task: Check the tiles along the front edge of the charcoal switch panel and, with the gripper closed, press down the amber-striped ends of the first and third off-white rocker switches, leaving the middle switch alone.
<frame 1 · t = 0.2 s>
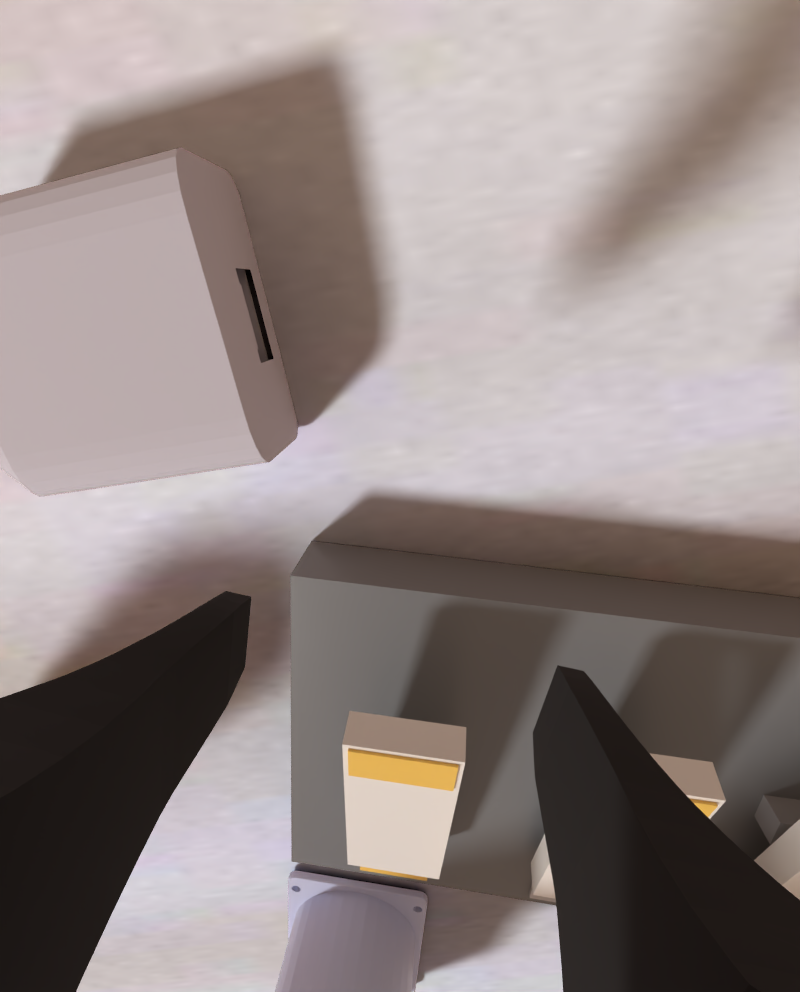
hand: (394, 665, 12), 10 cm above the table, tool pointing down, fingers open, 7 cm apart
switch panel: (582, 726, 25), on the table
rocker 3: (399, 806, 20), point 5 cm above the table, hinge at -15.0°
charger: (100, 349, 21), on the table
rocker 2: (610, 838, 20), point 5 cm above the table, hinge at -15.0°
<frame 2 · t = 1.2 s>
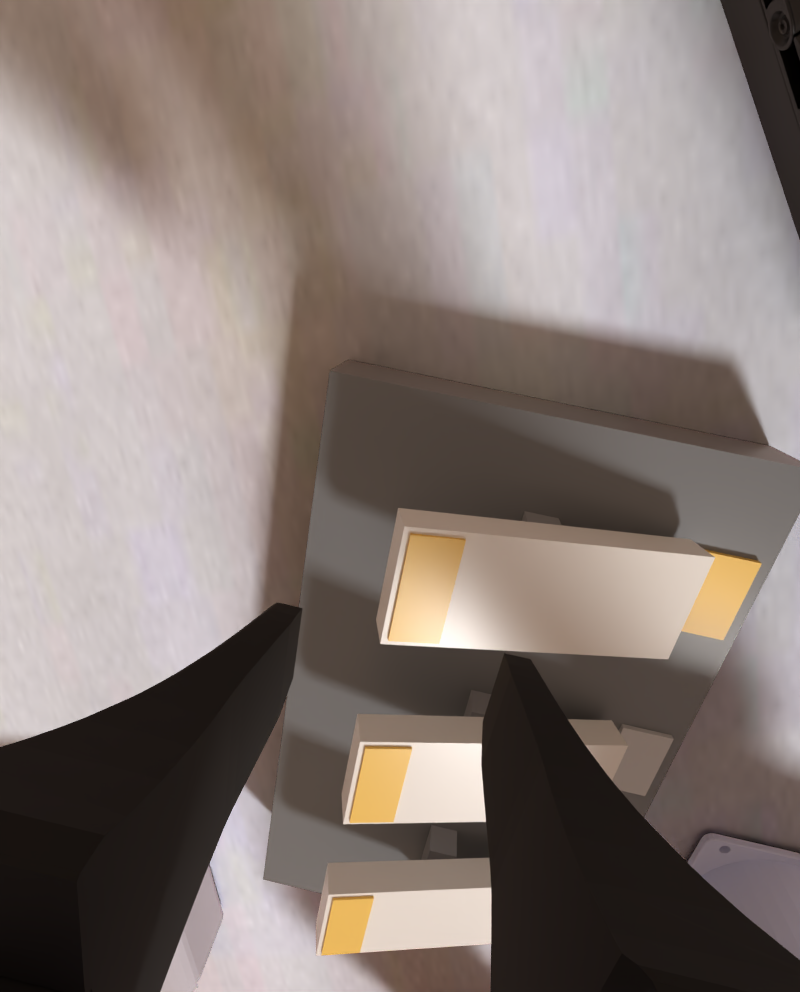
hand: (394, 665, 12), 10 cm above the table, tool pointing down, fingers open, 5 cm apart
switch panel: (475, 674, 25), on the table
rocker 1: (543, 589, 17), point 5 cm above the table, hinge at -15.0°
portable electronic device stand: (770, 27, 16), on the table
rocker 3: (438, 905, 23), point 5 cm above the table, hinge at -15.0°
charger: (157, 882, 34), on the table
rocker 2: (483, 771, 20), point 5 cm above the table, hinge at -15.0°
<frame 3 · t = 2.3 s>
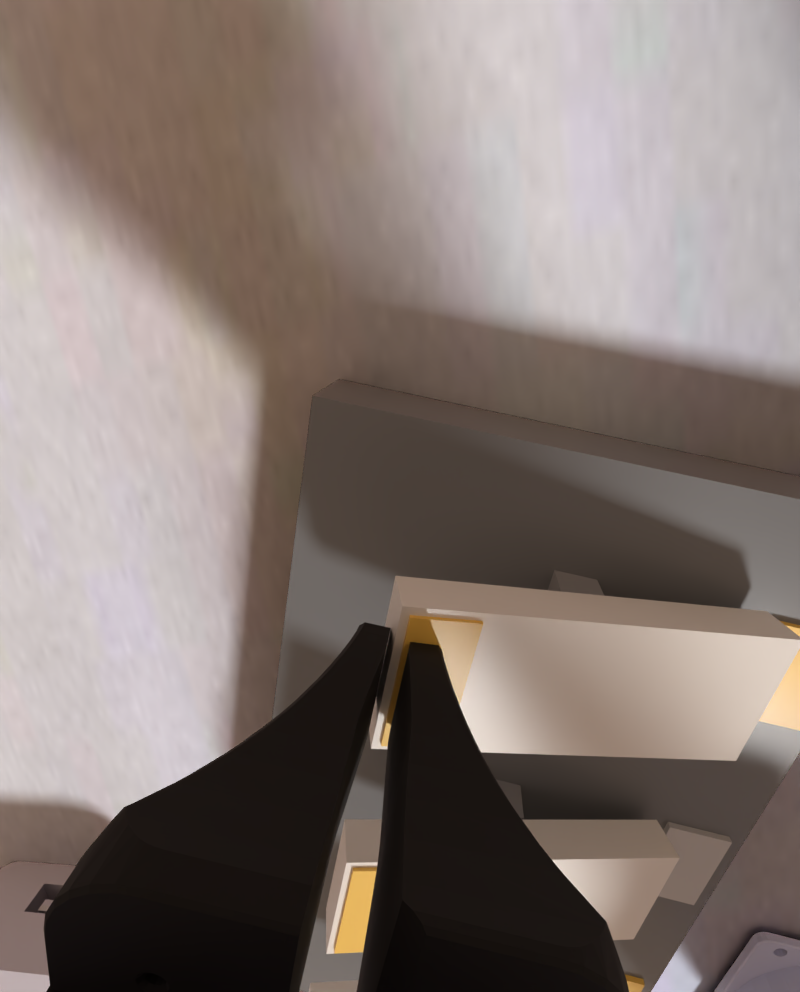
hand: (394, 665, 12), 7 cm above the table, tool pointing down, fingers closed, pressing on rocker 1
switch panel: (488, 745, 21), on the table
rocker 1: (580, 677, 13), point 5 cm above the table, hinge at -14.5°, touching gripper
charger: (127, 951, 30), on the table
rocker 2: (499, 885, 16), point 5 cm above the table, hinge at -15.0°
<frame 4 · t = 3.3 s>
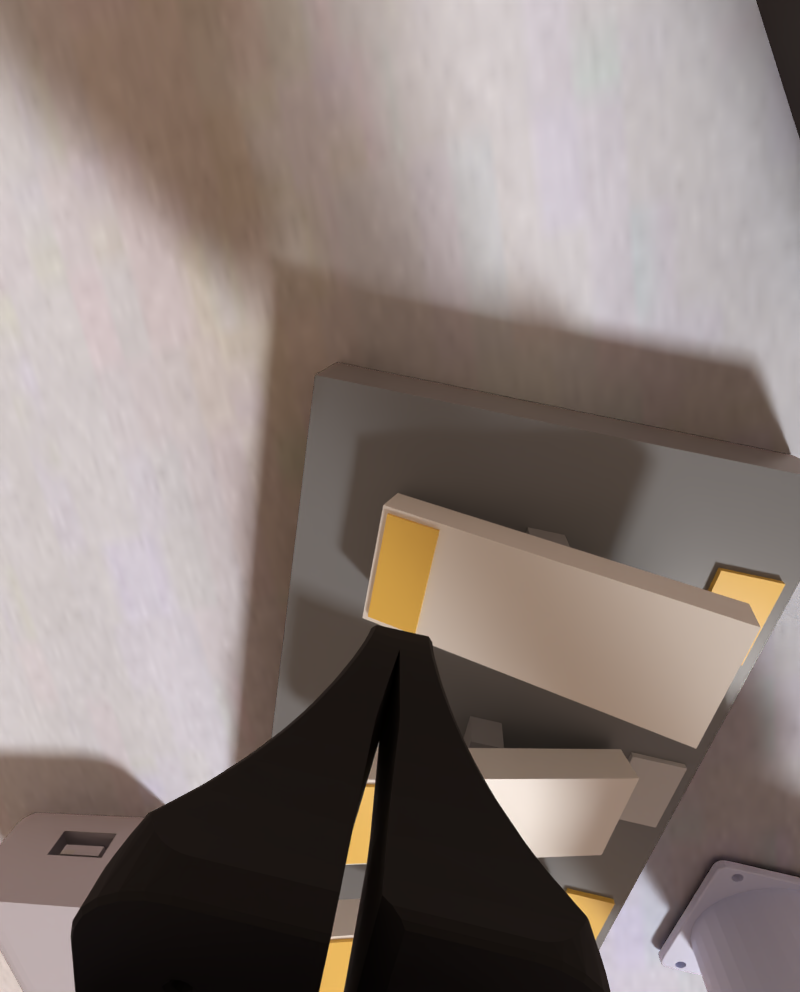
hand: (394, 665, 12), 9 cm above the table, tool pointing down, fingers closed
switch panel: (474, 695, 23), on the table
rocker 1: (536, 612, 15), point 5 cm above the table, hinge at 14.6°
rocker 3: (435, 943, 21), point 5 cm above the table, hinge at -15.0°
charger: (141, 897, 32), on the table
rocker 2: (483, 806, 18), point 5 cm above the table, hinge at -15.0°
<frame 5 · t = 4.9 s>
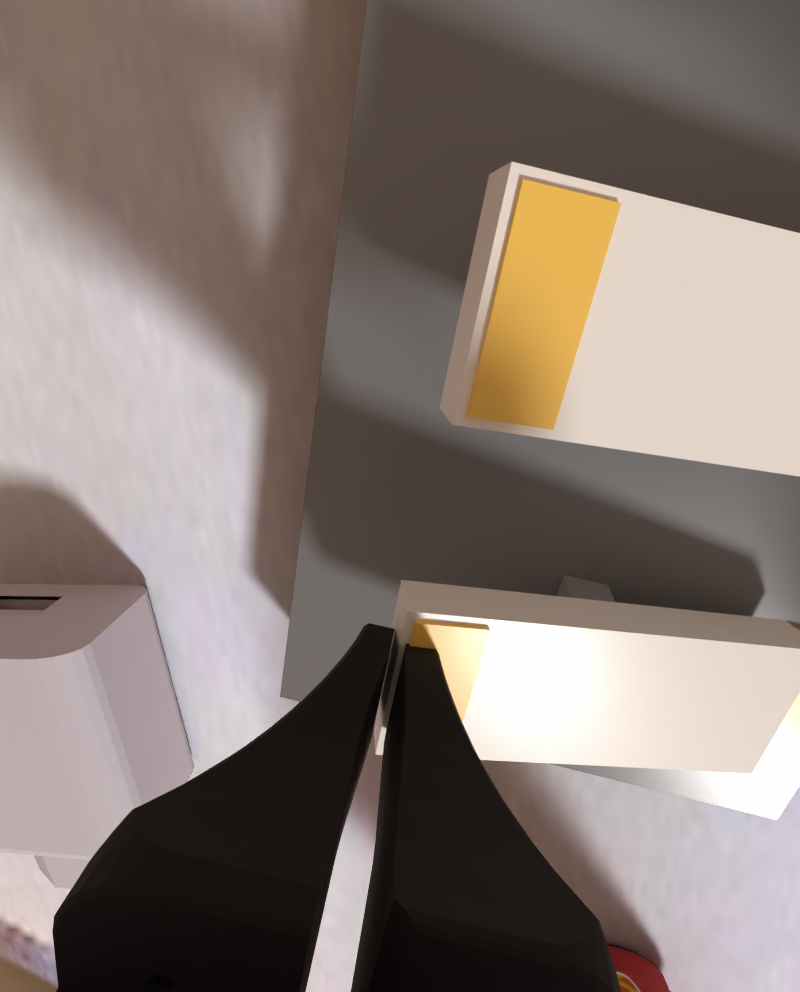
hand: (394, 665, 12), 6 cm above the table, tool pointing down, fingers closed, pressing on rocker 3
switch panel: (636, 331, 15), on the table
rocker 3: (590, 685, 13), point 5 cm above the table, hinge at -13.6°, touching gripper
smoothie: (599, 975, 25), on the table
charger: (103, 724, 24), on the table
rocker 2: (726, 352, 10), point 5 cm above the table, hinge at -15.0°
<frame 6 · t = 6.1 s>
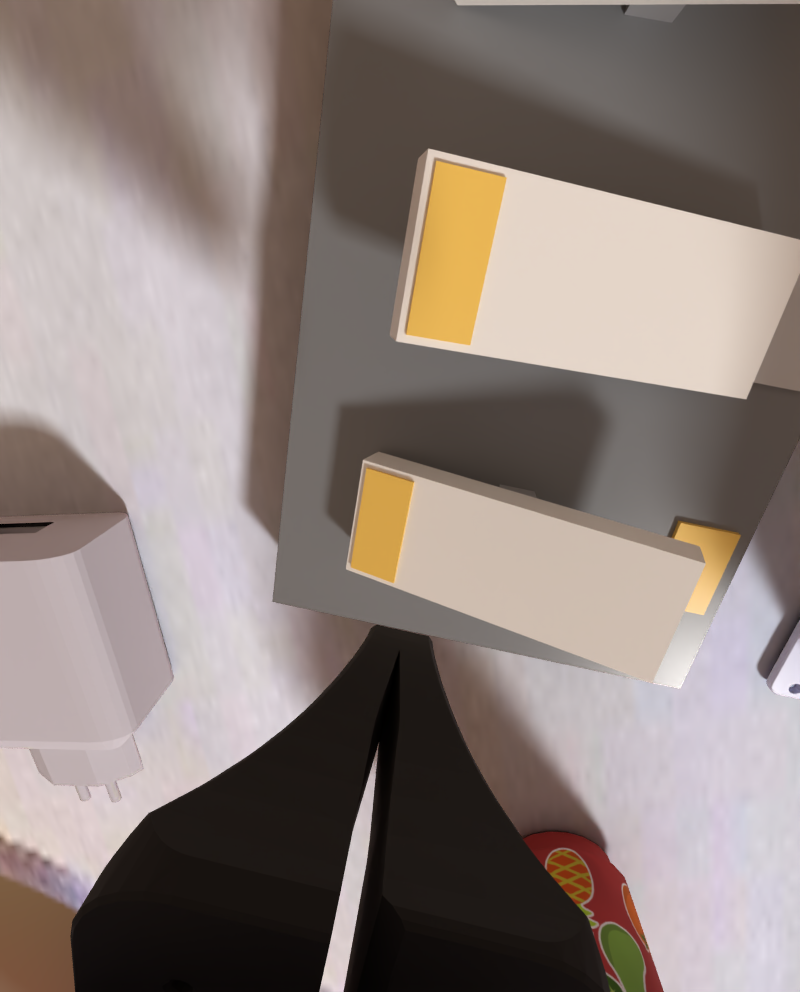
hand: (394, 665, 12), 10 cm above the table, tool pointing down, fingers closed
switch panel: (555, 289, 18), on the table
rocker 3: (504, 559, 16), point 5 cm above the table, hinge at 15.8°
smoothie: (555, 862, 29), on the table
charger: (92, 646, 27), on the table
rocker 2: (598, 290, 13), point 5 cm above the table, hinge at -15.0°
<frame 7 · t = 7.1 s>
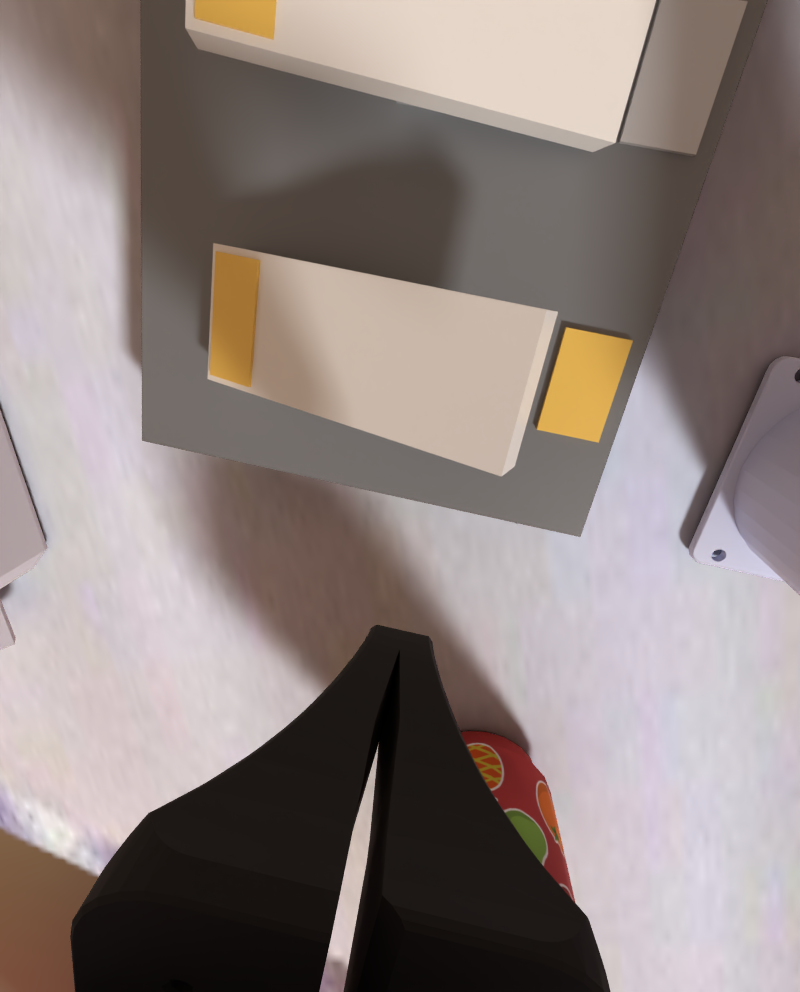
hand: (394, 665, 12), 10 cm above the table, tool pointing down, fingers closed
switch panel: (437, 77, 17), on the table
rocker 3: (357, 350, 15), point 5 cm above the table, hinge at 20.4°, touching switch panel
smoothie: (478, 769, 27), on the table
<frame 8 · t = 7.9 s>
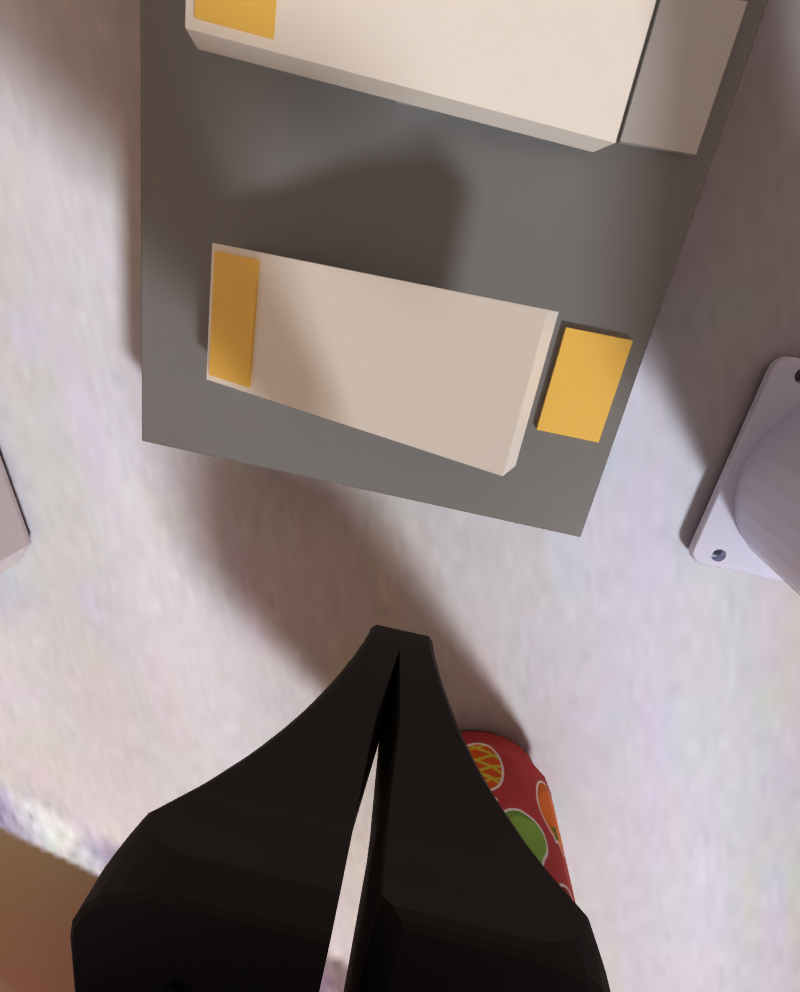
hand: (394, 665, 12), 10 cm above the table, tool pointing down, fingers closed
switch panel: (437, 77, 17), on the table
rocker 3: (357, 350, 15), point 5 cm above the table, hinge at 19.8°
smoothie: (477, 769, 27), on the table
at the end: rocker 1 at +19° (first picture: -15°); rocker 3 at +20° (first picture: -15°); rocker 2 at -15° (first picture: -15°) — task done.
